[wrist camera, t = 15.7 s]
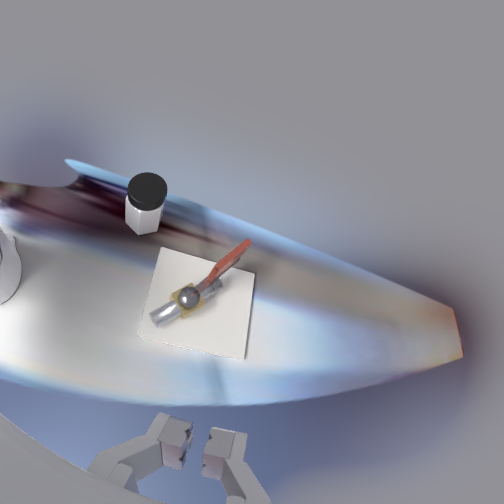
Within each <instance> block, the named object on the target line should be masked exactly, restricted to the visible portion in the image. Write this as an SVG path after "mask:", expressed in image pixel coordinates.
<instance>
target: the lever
mask: <svg viewBox="0 0 504 504" xmlns="http://www.w3.org/2000/svg"><path fill="white" fill-rule="evenodd" d="M251 244H252V242H251V241H250V240H249V239H246V240H245V241H244V242H243V243H241V244H240V245H239V246H238V247H236V248H235V249H234V250H233V251H232V252H230V253H229V254H228V255H227V256H225V257H224V258H223V259H222V260H220V261H219V262H218V263H217V264H215V266H214V267H213V269H212V270H211V272H210V273H209V275H208V276H207V277H206V278H205V279H204V280H202V281H201V282H200V283H199V284H198V285H196V286H195V287H191V286H187V287H184V288H183V289H182V290H181V291H180V293H179V302H180V304H181V305H182V306H184V307H186V308H193V307H195V306H196V305H197V304H198V302H199V300H200V294H201V293H202V292H203V291H204V290H205V289H206V288H208V287H209V286H210V285H211V284H212V283H213V282H215V281H216V280H217V279H218V278H219V277H221V276H222V275H223V274H224V273H225V272H226V271H228V270H229V269H230V268H231V267H232V266H234V265H235V264H236V263H237V262H238V261H239V260H240V257H241V256H242V255H243V254H244V252H245V251H246V250H247V249H248V247H249V246H250V245H251Z"/></svg>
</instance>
